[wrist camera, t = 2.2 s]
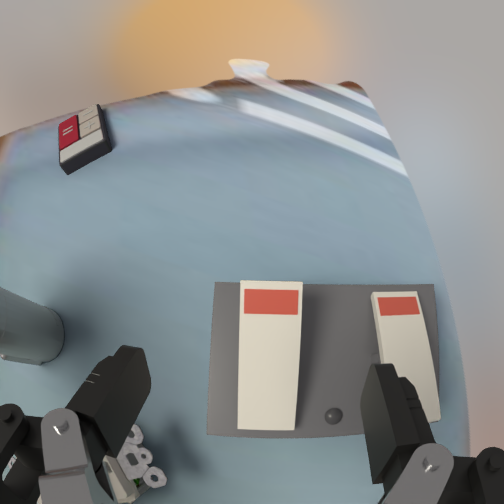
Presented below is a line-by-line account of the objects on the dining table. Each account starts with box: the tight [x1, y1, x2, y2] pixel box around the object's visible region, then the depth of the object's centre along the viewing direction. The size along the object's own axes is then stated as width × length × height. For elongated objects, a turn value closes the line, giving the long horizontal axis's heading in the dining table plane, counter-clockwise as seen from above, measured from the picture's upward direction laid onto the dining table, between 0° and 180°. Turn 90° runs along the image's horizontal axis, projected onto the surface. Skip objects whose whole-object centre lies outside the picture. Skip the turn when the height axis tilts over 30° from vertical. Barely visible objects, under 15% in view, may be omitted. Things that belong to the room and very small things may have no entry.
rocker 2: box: [371, 291, 441, 423], centre depth 29 cm, size 6×16×1 cm, turn 178°
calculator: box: [58, 104, 112, 175], centre depth 56 cm, size 11×4×15 cm
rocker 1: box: [238, 280, 303, 430], centre depth 30 cm, size 6×16×1 cm, turn 178°
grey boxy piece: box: [8, 424, 168, 504], centre depth 30 cm, size 12×28×10 cm, turn 117°
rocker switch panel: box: [207, 282, 439, 438], centre depth 36 cm, size 28×18×10 cm, turn 88°
